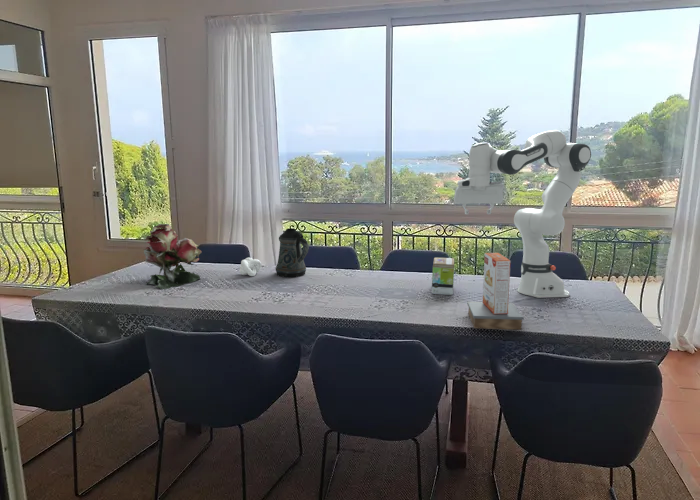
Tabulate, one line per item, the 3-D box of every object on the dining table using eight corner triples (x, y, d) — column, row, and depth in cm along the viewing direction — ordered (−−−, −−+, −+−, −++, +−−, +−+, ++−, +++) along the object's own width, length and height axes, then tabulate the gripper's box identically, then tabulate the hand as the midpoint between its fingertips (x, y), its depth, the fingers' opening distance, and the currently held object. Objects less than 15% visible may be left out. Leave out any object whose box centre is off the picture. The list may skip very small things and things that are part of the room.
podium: (512, 314, 200) (512, 302, 199) (522, 330, 182) (523, 317, 181) (466, 313, 201) (467, 301, 200) (473, 328, 184) (473, 315, 183)
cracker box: (481, 303, 198) (483, 252, 194) (496, 303, 198) (499, 252, 194) (492, 314, 184) (495, 259, 180) (508, 314, 184) (511, 259, 180)
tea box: (453, 295, 227) (454, 264, 224) (431, 294, 229) (432, 263, 226) (453, 286, 242) (454, 257, 239) (432, 285, 244) (433, 256, 241)
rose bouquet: (209, 277, 262) (205, 221, 256) (164, 290, 237) (159, 229, 232) (176, 272, 275) (172, 218, 269) (130, 284, 250) (124, 225, 244)
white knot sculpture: (233, 275, 266) (232, 259, 265) (249, 271, 276) (249, 255, 274) (248, 278, 260) (247, 261, 258) (264, 274, 270) (263, 257, 268)
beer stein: (280, 270, 278) (279, 226, 273) (314, 271, 275) (313, 226, 270) (271, 277, 262) (270, 230, 257) (307, 278, 259) (306, 231, 254)
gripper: (502, 181, 211) (501, 213, 214) (453, 181, 213) (453, 213, 216) (505, 181, 205) (504, 215, 208) (455, 182, 207) (454, 215, 209)
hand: (477, 214), depth 212 cm, fingers open, 8 cm apart
